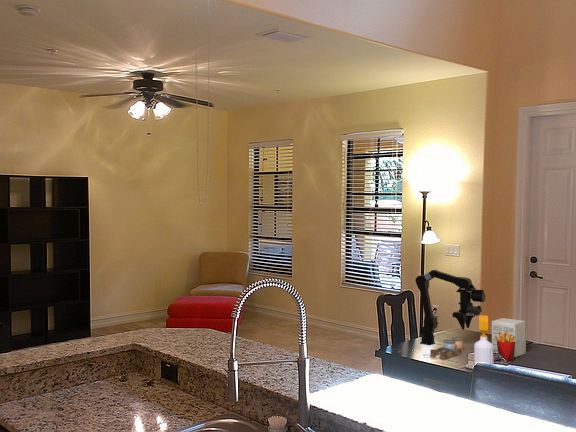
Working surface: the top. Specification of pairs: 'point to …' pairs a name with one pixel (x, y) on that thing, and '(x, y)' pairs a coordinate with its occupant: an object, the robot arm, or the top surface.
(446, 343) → the slate jar
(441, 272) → the robot arm
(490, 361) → the soap bottle
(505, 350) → the french fries
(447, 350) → the pusher
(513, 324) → the supplement box
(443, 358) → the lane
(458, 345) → the terracotta jar
